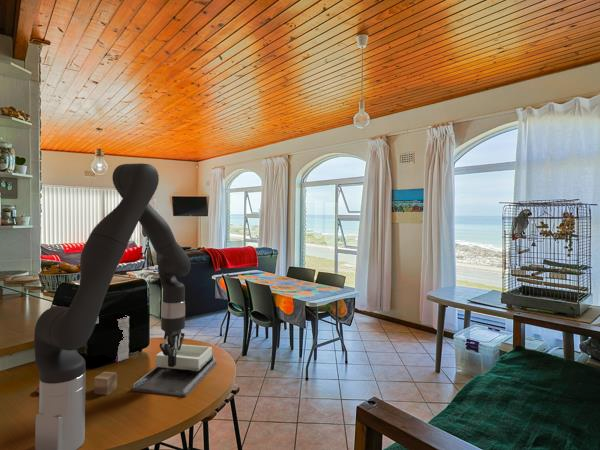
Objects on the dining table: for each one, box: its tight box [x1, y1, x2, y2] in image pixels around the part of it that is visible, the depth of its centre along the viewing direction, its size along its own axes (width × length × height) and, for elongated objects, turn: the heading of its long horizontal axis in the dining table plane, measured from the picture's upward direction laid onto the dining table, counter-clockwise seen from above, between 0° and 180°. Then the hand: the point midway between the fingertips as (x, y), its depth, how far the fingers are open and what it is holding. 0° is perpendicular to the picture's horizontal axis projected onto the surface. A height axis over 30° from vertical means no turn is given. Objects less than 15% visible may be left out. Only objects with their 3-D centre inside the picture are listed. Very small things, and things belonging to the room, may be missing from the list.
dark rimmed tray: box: [131, 353, 217, 397], centre depth 126 cm, size 25×18×4 cm
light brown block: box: [93, 371, 118, 396], centre depth 115 cm, size 4×4×5 cm
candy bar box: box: [114, 315, 130, 363], centre depth 140 cm, size 11×5×16 cm, turn 58°
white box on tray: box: [155, 343, 213, 373], centre depth 131 cm, size 12×16×6 cm
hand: (172, 365), depth 122 cm, fingers closed
